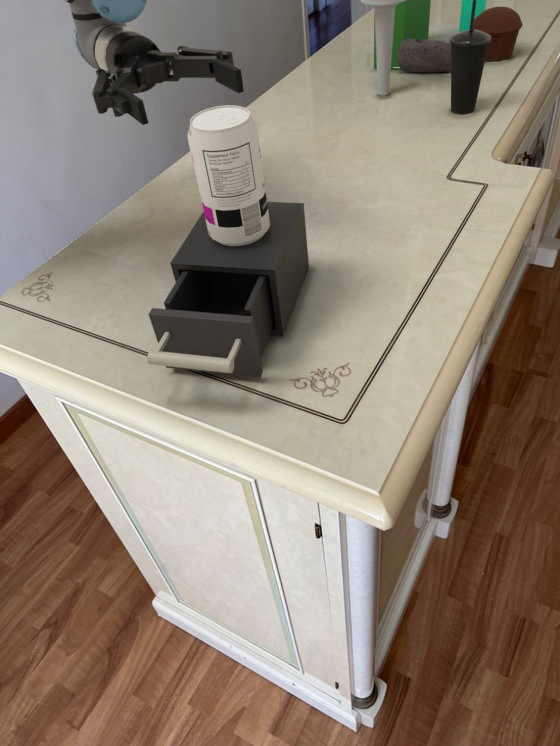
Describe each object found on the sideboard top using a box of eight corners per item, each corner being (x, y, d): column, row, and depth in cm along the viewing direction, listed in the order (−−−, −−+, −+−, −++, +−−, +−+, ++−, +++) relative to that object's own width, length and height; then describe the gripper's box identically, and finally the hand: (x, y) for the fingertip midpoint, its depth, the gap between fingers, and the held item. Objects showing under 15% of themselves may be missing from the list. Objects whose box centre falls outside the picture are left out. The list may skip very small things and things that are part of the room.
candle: (472, 44, 150) (479, -10, 142) (453, 40, 153) (458, -13, 145) (486, 37, 153) (493, -17, 144) (466, 34, 156) (472, -19, 147)
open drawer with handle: (248, 408, 69) (236, 353, 62) (151, 396, 72) (130, 342, 66) (288, 304, 82) (282, 249, 75) (204, 297, 85) (191, 244, 79)
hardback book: (400, 44, 156) (404, -67, 139) (427, 46, 153) (435, -68, 136) (373, 68, 145) (374, -49, 129) (402, 70, 142) (407, -50, 125)
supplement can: (196, 240, 77) (170, 126, 67) (234, 210, 82) (214, 99, 71) (246, 255, 74) (226, 137, 63) (282, 222, 78) (269, 108, 68)
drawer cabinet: (283, 336, 78) (274, 269, 71) (188, 327, 82) (169, 263, 74) (309, 267, 89) (303, 202, 81) (223, 262, 92) (210, 199, 85)
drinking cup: (436, 109, 124) (444, 1, 110) (465, 99, 126) (477, -9, 112) (459, 120, 119) (472, 8, 105) (489, 110, 121) (505, -2, 107)
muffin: (508, 45, 147) (516, -1, 140) (524, 59, 139) (533, 11, 132) (461, 51, 147) (466, 6, 140) (474, 66, 139) (480, 18, 132)
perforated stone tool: (463, 68, 139) (467, 35, 134) (460, 76, 136) (463, 43, 131) (400, 67, 144) (401, 35, 139) (395, 75, 141) (396, 43, 136)
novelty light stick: (356, 102, 132) (355, -31, 114) (366, 85, 138) (366, -43, 120) (401, 102, 129) (406, -33, 111) (409, 85, 135) (415, -45, 118)
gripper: (208, 64, 93) (279, 99, 80) (57, 110, 85) (108, 157, 72) (199, 10, 88) (274, 37, 74) (37, 54, 80) (88, 94, 66)
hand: (193, 96), depth 73 cm, fingers open, 13 cm apart
